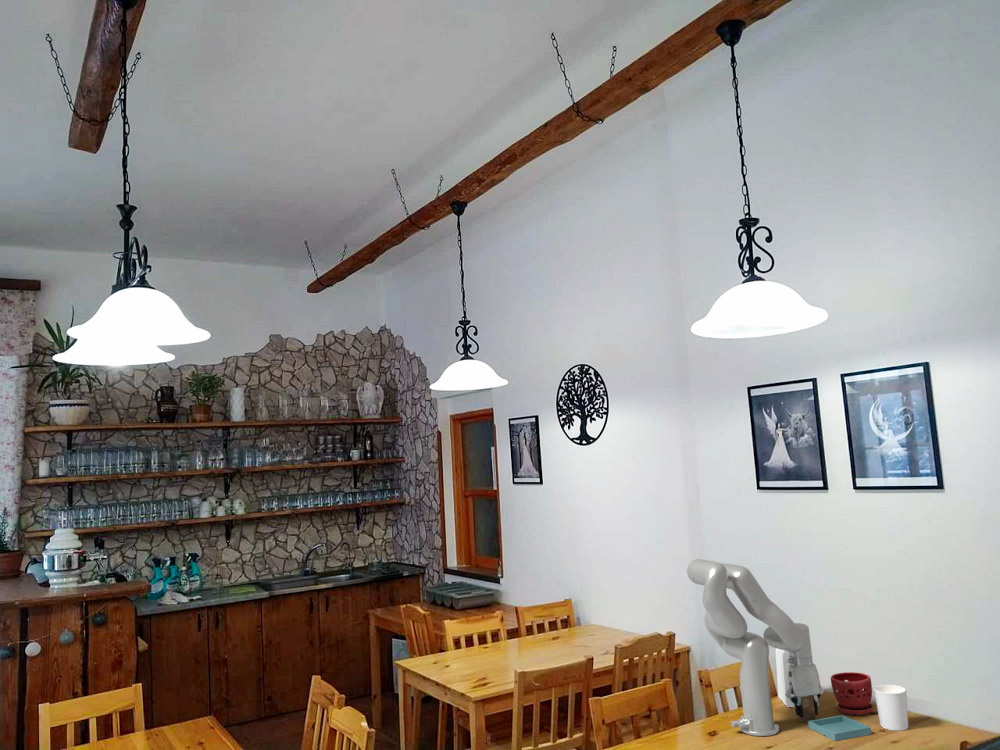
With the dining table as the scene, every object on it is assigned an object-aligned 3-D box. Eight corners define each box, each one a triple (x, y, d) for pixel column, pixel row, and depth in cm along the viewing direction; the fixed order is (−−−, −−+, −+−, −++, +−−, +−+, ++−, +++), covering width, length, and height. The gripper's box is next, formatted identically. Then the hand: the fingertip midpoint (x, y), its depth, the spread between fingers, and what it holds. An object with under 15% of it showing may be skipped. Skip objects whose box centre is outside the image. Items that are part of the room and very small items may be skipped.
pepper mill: (805, 722, 265) (802, 693, 266) (796, 718, 270) (793, 689, 271) (818, 720, 266) (815, 690, 267) (809, 716, 271) (806, 687, 272)
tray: (835, 741, 247) (834, 733, 247) (808, 728, 260) (807, 721, 260) (871, 734, 250) (870, 727, 251) (843, 721, 263) (842, 715, 264)
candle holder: (880, 720, 263) (876, 683, 264) (913, 723, 257) (908, 686, 258) (875, 729, 255) (870, 691, 256) (908, 733, 249) (903, 694, 250)
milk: (778, 698, 293) (770, 627, 296) (809, 696, 292) (801, 625, 295) (786, 708, 281) (778, 634, 284) (819, 706, 280) (811, 632, 283)
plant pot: (866, 704, 279) (862, 670, 280) (881, 716, 266) (876, 680, 267) (829, 706, 280) (825, 672, 281) (841, 718, 267) (837, 682, 268)
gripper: (786, 666, 265) (792, 722, 262) (829, 659, 269) (835, 714, 267) (773, 661, 272) (779, 715, 270) (815, 655, 276) (821, 708, 274)
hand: (807, 714), depth 268 cm, fingers closed on pepper mill, 5 cm apart
